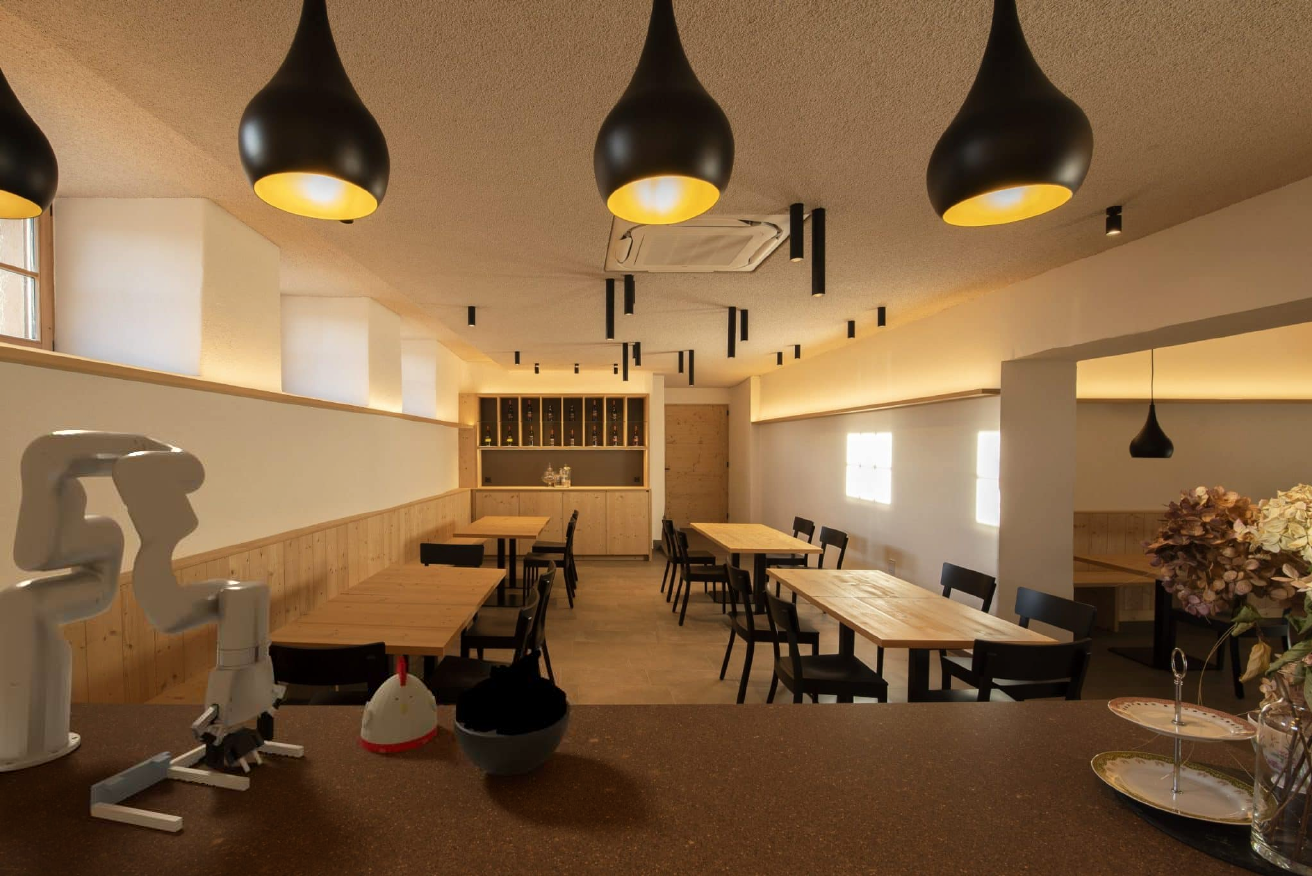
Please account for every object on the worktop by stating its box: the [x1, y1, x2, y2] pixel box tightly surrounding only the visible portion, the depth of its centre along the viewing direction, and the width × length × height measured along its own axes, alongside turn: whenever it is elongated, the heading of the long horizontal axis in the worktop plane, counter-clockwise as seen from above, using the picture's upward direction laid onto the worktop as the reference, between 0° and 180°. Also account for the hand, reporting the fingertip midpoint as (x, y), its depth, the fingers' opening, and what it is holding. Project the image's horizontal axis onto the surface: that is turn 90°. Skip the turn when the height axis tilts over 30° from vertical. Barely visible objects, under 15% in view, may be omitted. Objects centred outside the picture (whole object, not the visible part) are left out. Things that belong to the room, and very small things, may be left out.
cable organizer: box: [89, 733, 304, 833], centre depth 99 cm, size 17×23×4 cm
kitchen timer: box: [359, 656, 439, 754], centre depth 117 cm, size 14×14×15 cm
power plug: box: [198, 725, 265, 774], centre depth 105 cm, size 6×8×12 cm
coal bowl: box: [453, 649, 572, 777], centre depth 105 cm, size 20×20×19 cm
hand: (240, 752), depth 104 cm, fingers open, 9 cm apart
